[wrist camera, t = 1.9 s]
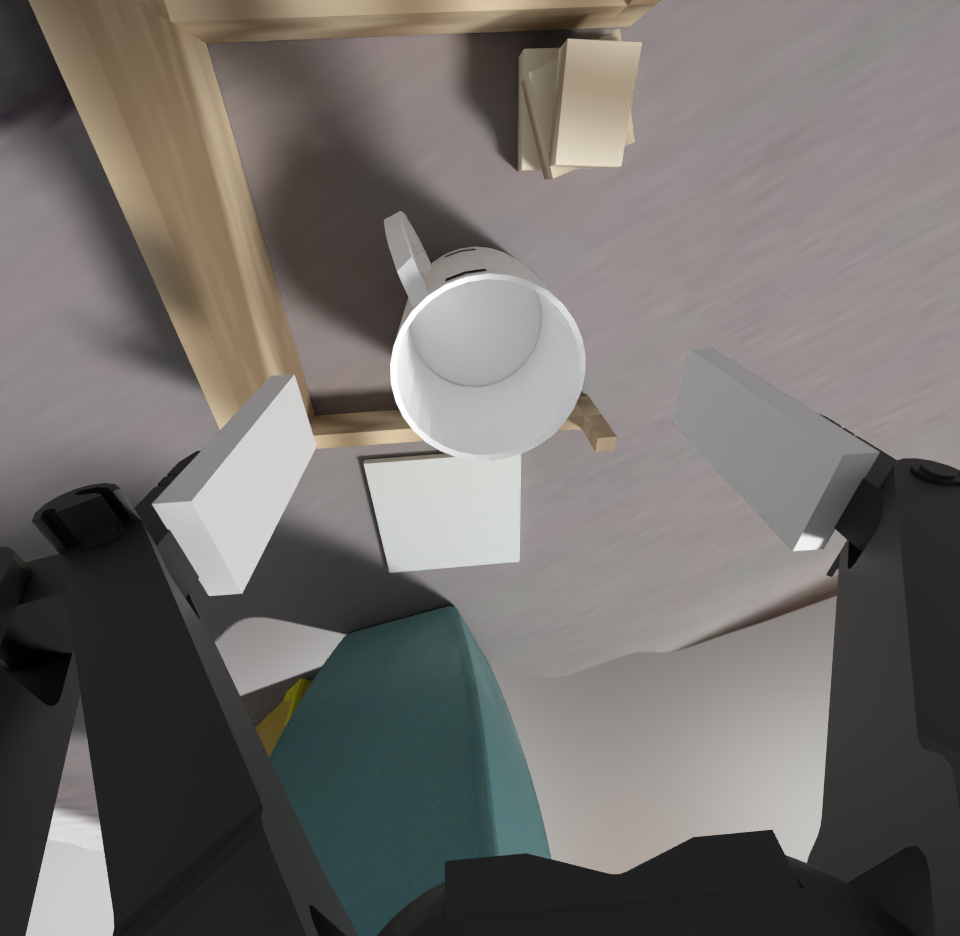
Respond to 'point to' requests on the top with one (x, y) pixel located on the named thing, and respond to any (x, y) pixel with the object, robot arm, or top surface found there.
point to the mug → (480, 350)
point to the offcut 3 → (593, 102)
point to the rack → (219, 173)
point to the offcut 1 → (526, 140)
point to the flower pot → (406, 765)
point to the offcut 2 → (541, 108)
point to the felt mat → (446, 510)
